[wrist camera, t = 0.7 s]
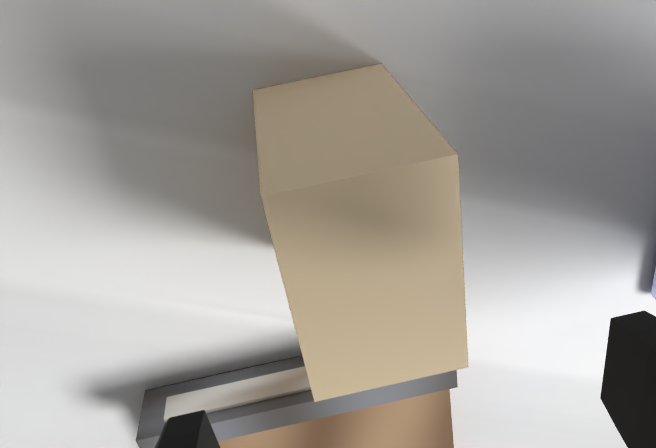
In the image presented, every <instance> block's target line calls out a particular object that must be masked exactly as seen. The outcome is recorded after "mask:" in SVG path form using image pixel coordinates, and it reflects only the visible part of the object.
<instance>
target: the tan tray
mask: <svg viewBox="0 0 656 448" xmlns="http://www.w3.org/2000/svg"><path fill="white" fill-rule="evenodd" d="M456 387H457V372H456V370H454V371H449V372H445V373H441V374H436V375H432V376H427V377H423V378H419V379H414V380H410V381H405V382H401V383H396V384H392V385H388V386H383V387H379V388H374V389H370V390H366V391H361V392H357V393H352V394H348V395H343V396H339V397H335V398H330V399H326V400H321V401H317V402H314V398H313V394H312V390H311V387H310V383H309V379H308V375H307V371H306V368H305V364H304V360H303V356H299V357H295V358H290V359H286V360H281V361H277V362H272V363H268V364H263V365H259V366H254V367H250V368H245V369H241V370H236V371H232V372H227V373H223V374H218V375H214V376H210V377H205V378H201V379H196V380H192V381H187V382H183V383H178V384H174V385H169V386H165V387H160V388H156V389H151V390H147V391H145V395H144V400H143V406H142V411H141V416H140V422H139V427H138V432H137V438H136V442H137V444H138V446H139V447H140V448H155V446H156V444H157V442H158V439H159V437H160V434H161V432H162V430H163V427H164V425H165V423H166V422H167V420H168V419H169V418H170V417H175V416H179V415H183V414H188V413H192V412H197V411H201V410H205V412H206V415H207V417H208V419H209V422H210V424H211V426H212V429H213V431H214V434H215V436H216V438H217V441H218V443H219V446H220V448H454V445H453V432H452V418H451V405H450V392H449V389H451V388H456Z"/></svg>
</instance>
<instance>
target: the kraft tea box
mask: <svg viewBox="0 0 656 448" xmlns="http://www.w3.org/2000/svg"><path fill="white" fill-rule="evenodd" d="M253 101H254V115H255V128H256V142H257V155H258V169H259V182H260V196H261V200H262V204H263V208H264V211H265V215H266V219H267V223H268V227H269V230H270V234H271V238H272V242H273V246H274V249H275V253H276V257H277V261H278V265H279V269H280V272H281V276H282V280H283V284H284V288H285V291H286V295H287V299H288V303H289V307H290V310H291V314H292V318H293V322H294V326H295V329H296V333H297V337H298V341H299V345H300V349H301V352H302V356H303V360H304V364H305V368H306V371H307V375H308V379H309V383H310V387H311V390H312V394H313V398H314V402H317V401H321V400H326V399H330V398H335V397H339V396H343V395H348V394H352V393H357V392H361V391H366V390H370V389H374V388H379V387H383V386H388V385H392V384H396V383H401V382H405V381H410V380H414V379H419V378H423V377H427V376H432V375H436V374H441V373H445V372H449V371H454V370H458V369H463V368H467V367H468V350H467V329H466V309H465V288H464V267H463V247H462V226H461V206H460V185H459V165H458V154H457V152H456V151H455V150H454V149H453V148H452V146H451V145H450V144H449V143H448V142H447V141H446V139H445V138H444V137H443V136H442V135H441V133H440V132H439V131H438V130H437V129H436V127H435V126H434V125H433V124H432V123H431V122H430V120H429V119H428V118H427V117H426V116H425V114H424V113H423V112H422V111H421V110H420V109H419V107H418V106H417V105H416V104H415V103H414V101H413V100H412V99H411V98H410V97H409V95H408V94H407V93H406V92H405V91H404V90H403V88H402V87H401V86H400V85H399V84H398V82H397V81H396V80H395V79H394V78H393V76H392V75H391V74H390V73H389V72H388V71H387V69H386V68H385V67H384V66H383V65H382V63H381V64H377V65H372V66H367V67H362V68H357V69H352V70H348V71H343V72H338V73H333V74H328V75H323V76H319V77H314V78H309V79H304V80H299V81H294V82H290V83H285V84H280V85H275V86H270V87H266V88H261V89H256V90H253Z"/></svg>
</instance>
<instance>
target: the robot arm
mask: <svg viewBox="0 0 656 448" xmlns="http://www.w3.org/2000/svg"><path fill="white" fill-rule="evenodd" d="M651 294H652V296H653V297H654V298H655V299H656V268H655V273H654V279H653V285H652V291H651ZM601 400H602V402H603V404H604V405H605V407H606V409H607V411H608V413H609V415H610V417H611V419H612V420H613V422H614V424H615V426H616V428H617V430H618V431H619V433H620V435H621V437H622V438H623V440H624V442H625V444H626V445H627V447H628V448H656V317H655V316H653V315H652V314H650V313H648V312H646V311H641V312H637V313H632V314H628V315H623V316H619V317H614V318H611V322H610V329H609V337H608V345H607V352H606V360H605V368H604V375H603V383H602V391H601ZM155 448H220V446H219V443H218V441H217V438H216V436H215V434H214V431H213V429H212V426H211V424H210V422H209V419H208V417H207V415H206V412H205V410H201V411H197V412H192V413H188V414H183V415H179V416H175V417H170V418H169V419H168V420H167V422H166V423H165V425H164V427H163V430H162V432H161V434H160V437H159V439H158V442H157V444H156V446H155Z"/></svg>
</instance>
